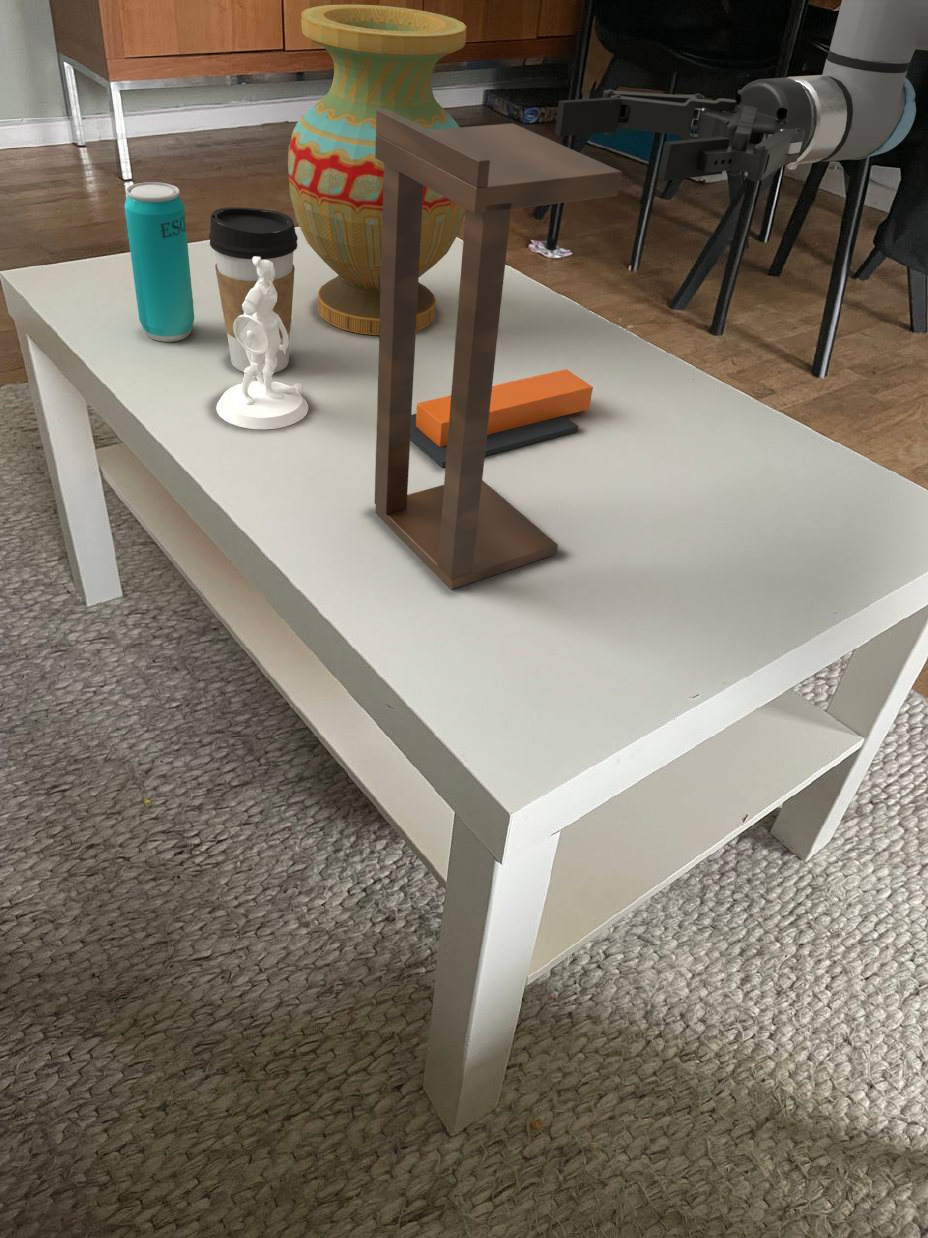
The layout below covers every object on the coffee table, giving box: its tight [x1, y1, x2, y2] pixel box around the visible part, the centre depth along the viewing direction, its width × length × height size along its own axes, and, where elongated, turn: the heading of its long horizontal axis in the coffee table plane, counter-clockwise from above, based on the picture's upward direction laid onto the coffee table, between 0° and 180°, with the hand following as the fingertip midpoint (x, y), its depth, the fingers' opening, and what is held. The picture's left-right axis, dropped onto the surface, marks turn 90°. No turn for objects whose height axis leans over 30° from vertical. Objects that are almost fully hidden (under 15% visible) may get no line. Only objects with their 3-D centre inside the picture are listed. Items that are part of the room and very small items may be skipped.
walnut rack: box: [374, 109, 623, 590], centre depth 74 cm, size 11×12×32 cm
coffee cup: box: [208, 206, 298, 375], centre depth 101 cm, size 8×8×15 cm
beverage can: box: [124, 181, 195, 343], centre depth 105 cm, size 6×6×15 cm
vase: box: [287, 3, 467, 336], centre depth 109 cm, size 20×20×30 cm
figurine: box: [216, 256, 309, 430], centre depth 93 cm, size 9×9×15 cm
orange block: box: [415, 368, 594, 447], centre depth 98 cm, size 18×4×2 cm, turn 123°
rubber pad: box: [410, 413, 579, 468], centre depth 98 cm, size 16×9×1 cm, turn 123°
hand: (608, 138), depth 84 cm, fingers open, 13 cm apart
